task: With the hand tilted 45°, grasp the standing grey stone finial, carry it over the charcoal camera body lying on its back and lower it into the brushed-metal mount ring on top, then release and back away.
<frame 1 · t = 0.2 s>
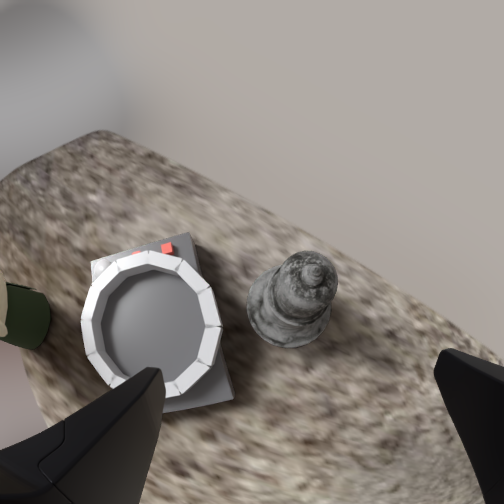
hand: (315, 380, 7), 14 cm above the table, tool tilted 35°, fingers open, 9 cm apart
character mug: (34, 320, 22), on the table
grey stone finial: (283, 313, 22), on the table
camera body: (160, 329, 22), on the table
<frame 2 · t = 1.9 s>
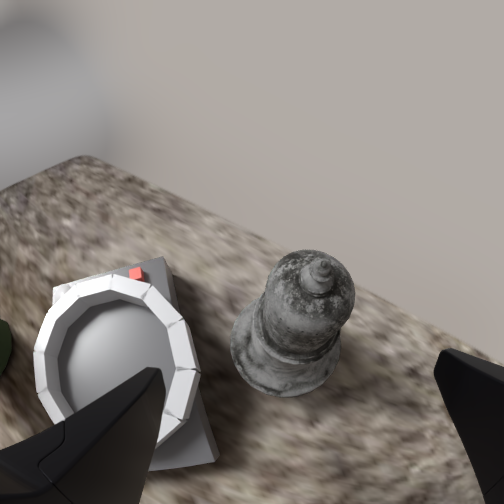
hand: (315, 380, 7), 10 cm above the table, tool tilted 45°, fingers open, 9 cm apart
grey stone finial: (280, 355, 17), on the table
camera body: (128, 373, 16), on the table
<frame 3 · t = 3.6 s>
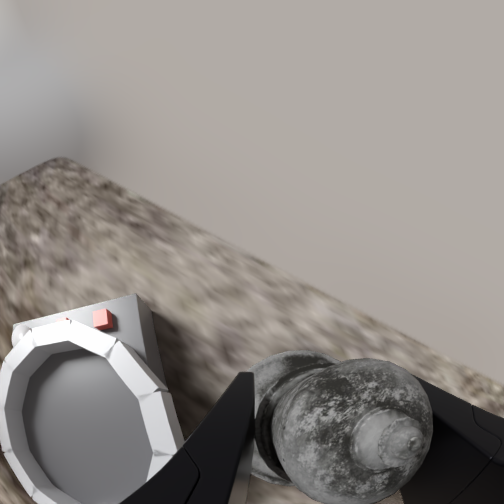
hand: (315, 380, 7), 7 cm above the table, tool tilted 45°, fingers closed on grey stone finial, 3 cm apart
grey stone finial: (287, 416, 13), on the table, touching gripper
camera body: (103, 430, 11), on the table
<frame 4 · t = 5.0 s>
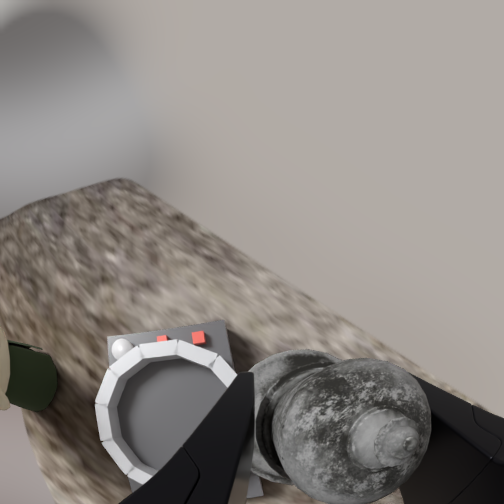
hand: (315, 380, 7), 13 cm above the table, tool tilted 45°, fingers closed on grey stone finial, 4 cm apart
character mug: (39, 380, 18), on the table
grey stone finial: (290, 415, 13), point 6 cm above the table, touching gripper
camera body: (184, 418, 18), on the table
when the fingers open (10 cm above the table, at t = 6.5 s): grey stone finial stays where it is, resting on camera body.
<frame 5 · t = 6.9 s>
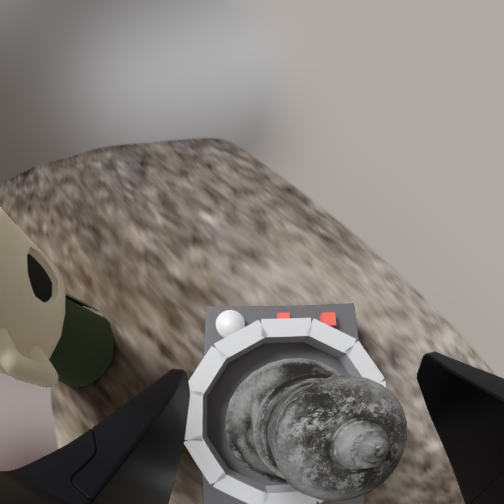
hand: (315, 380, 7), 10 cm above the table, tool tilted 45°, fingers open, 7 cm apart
character mug: (83, 348, 17), on the table
grey stone finial: (285, 418, 13), point 2 cm above the table, touching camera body
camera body: (281, 414, 15), on the table
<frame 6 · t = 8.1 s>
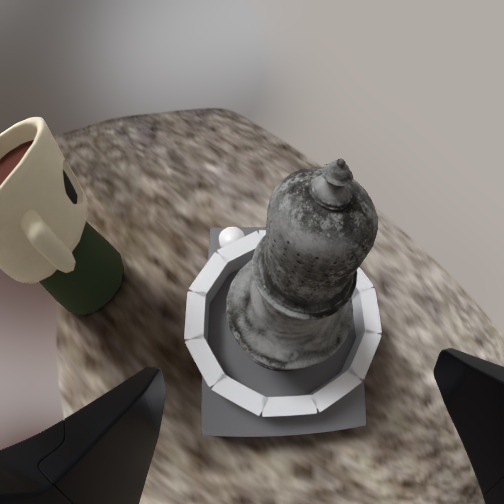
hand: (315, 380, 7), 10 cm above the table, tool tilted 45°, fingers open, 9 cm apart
character mug: (93, 281, 20), on the table
grey stone finial: (283, 326, 16), point 2 cm above the table, touching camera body
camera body: (279, 332, 18), on the table
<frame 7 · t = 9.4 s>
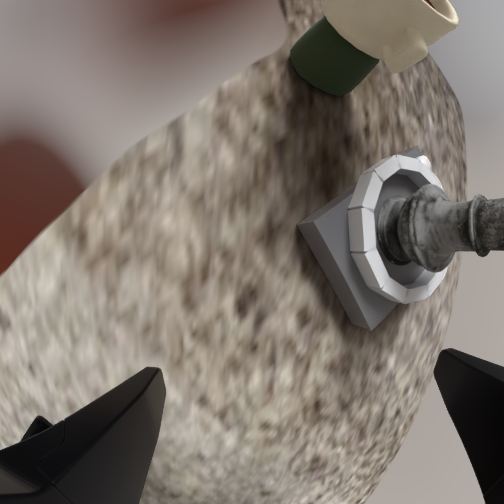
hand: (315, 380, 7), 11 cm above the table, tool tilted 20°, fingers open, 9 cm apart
character mug: (319, 70, 20), on the table
grey stone finial: (399, 230, 19), point 2 cm above the table, touching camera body
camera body: (381, 230, 21), on the table
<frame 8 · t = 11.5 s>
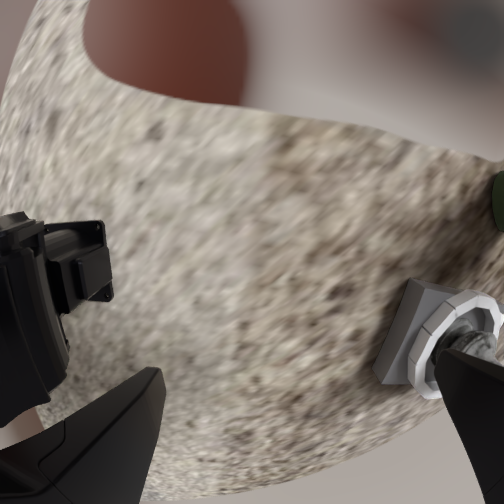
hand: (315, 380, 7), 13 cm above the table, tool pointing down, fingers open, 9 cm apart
character mug: (502, 200, 19), on the table
grey stone finial: (451, 342, 20), point 2 cm above the table, touching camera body
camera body: (440, 331, 22), on the table
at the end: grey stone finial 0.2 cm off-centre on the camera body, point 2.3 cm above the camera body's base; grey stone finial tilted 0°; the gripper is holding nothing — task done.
